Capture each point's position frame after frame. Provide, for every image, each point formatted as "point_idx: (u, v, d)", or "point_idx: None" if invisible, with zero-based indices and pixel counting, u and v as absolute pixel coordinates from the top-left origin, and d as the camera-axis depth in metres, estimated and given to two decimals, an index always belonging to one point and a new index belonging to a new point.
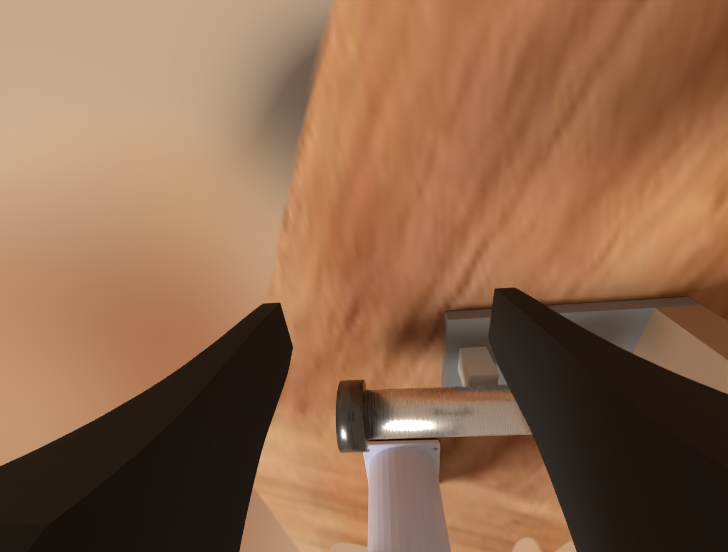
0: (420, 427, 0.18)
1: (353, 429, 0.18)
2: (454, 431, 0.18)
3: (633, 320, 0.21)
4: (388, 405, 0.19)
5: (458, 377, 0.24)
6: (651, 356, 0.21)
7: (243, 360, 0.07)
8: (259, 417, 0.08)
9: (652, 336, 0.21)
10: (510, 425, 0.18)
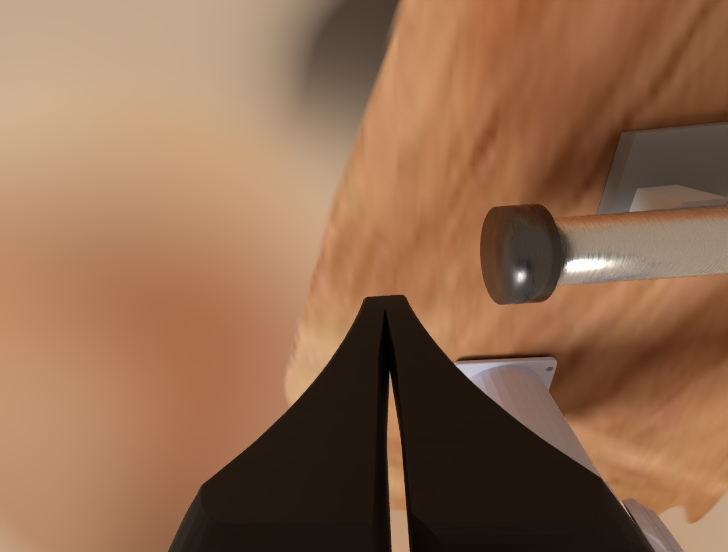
0: (645, 250, 0.11)
1: (546, 246, 0.11)
2: (698, 257, 0.11)
3: None
4: (585, 224, 0.12)
5: None
6: None
7: (381, 353, 0.07)
8: (385, 413, 0.08)
9: None
10: None
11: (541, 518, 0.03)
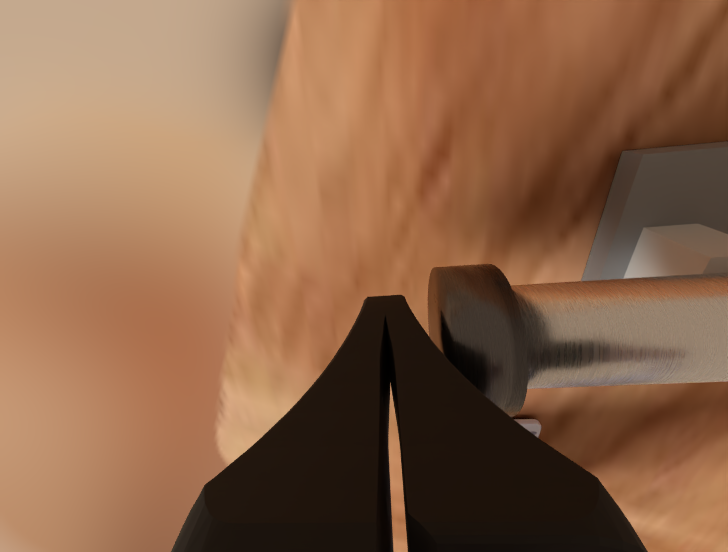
0: (665, 352, 0.07)
1: (503, 351, 0.07)
2: None
3: None
4: (569, 303, 0.08)
5: None
6: None
7: (382, 353, 0.07)
8: (386, 413, 0.08)
9: None
10: None
11: (536, 516, 0.03)
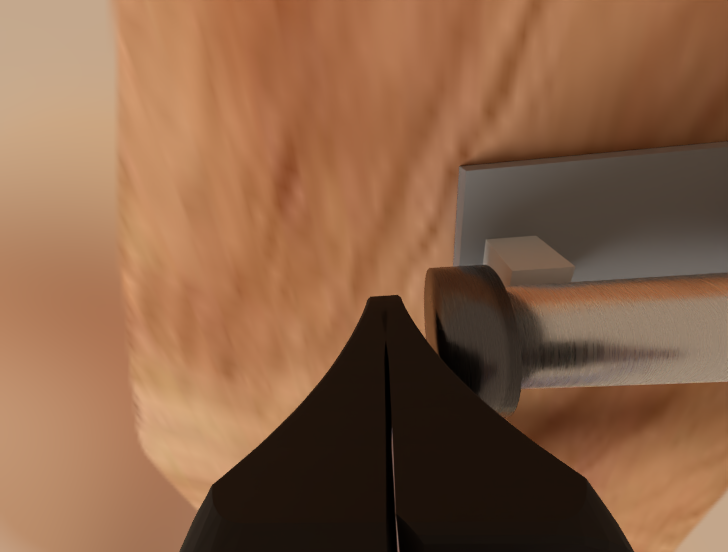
0: (659, 352, 0.07)
1: (496, 352, 0.07)
2: None
3: None
4: (564, 304, 0.08)
5: None
6: None
7: (386, 352, 0.07)
8: (390, 413, 0.08)
9: None
10: None
11: (523, 518, 0.03)
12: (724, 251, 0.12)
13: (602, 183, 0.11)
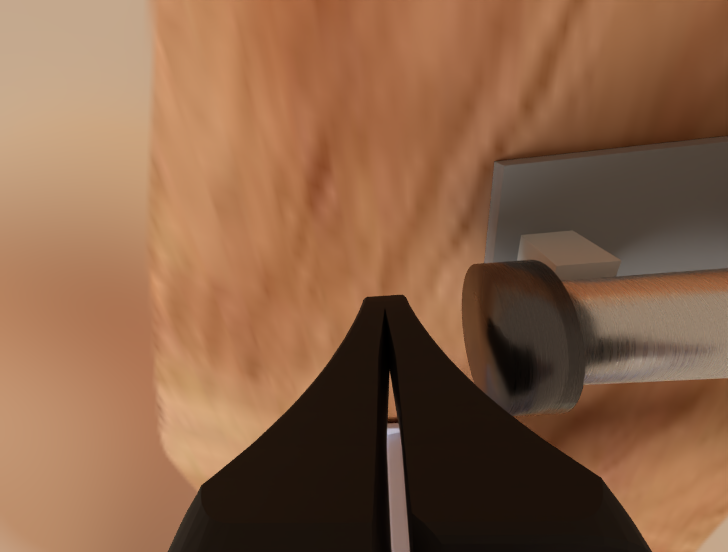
0: (721, 345, 0.07)
1: (559, 347, 0.07)
2: None
3: None
4: (620, 298, 0.08)
5: None
6: None
7: (381, 353, 0.07)
8: (385, 413, 0.08)
9: None
10: None
11: (541, 518, 0.03)
12: None
13: (642, 176, 0.11)
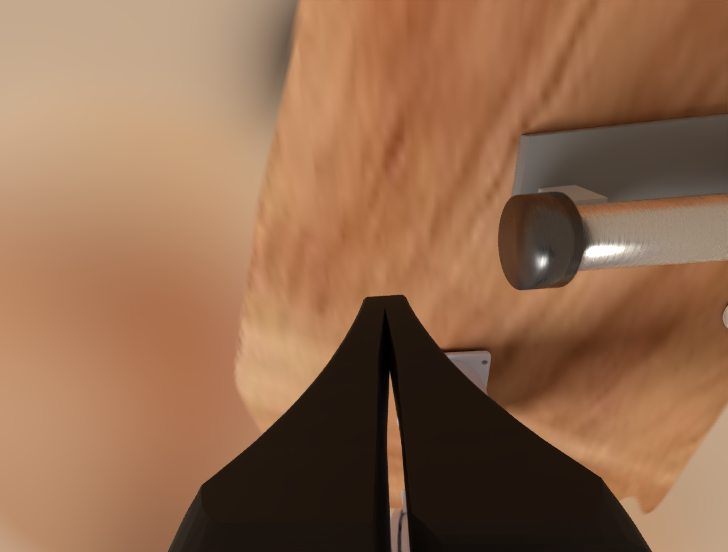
0: (664, 235, 0.12)
1: (569, 231, 0.11)
2: (715, 241, 0.12)
3: None
4: (605, 210, 0.12)
5: None
6: None
7: (381, 352, 0.07)
8: (385, 413, 0.08)
9: None
10: None
11: (541, 517, 0.03)
12: None
13: (624, 144, 0.16)
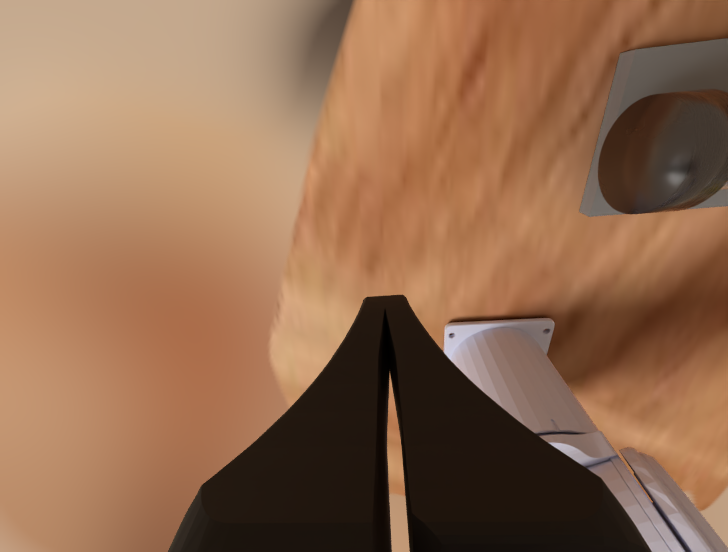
0: None
1: None
2: None
3: None
4: None
5: None
6: None
7: (381, 353, 0.07)
8: (385, 413, 0.08)
9: None
10: None
11: (542, 517, 0.03)
12: None
13: None
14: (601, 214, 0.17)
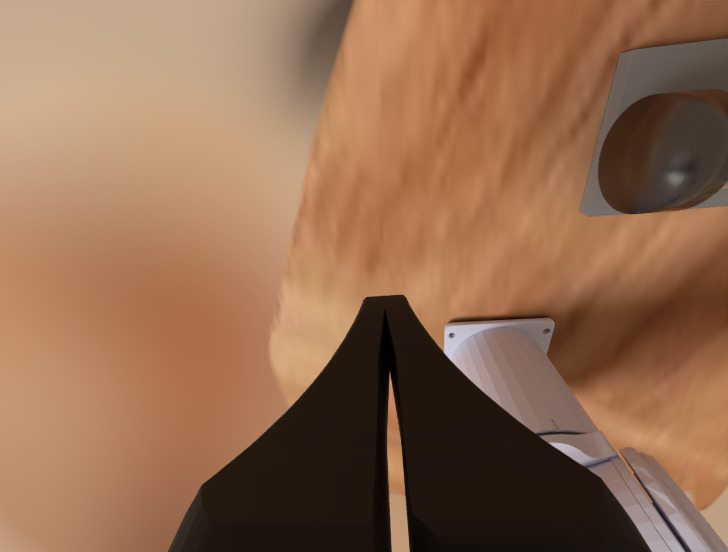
0: None
1: None
2: None
3: None
4: None
5: None
6: None
7: (381, 353, 0.07)
8: (385, 413, 0.08)
9: None
10: None
11: (542, 517, 0.03)
12: None
13: None
14: (601, 214, 0.17)
